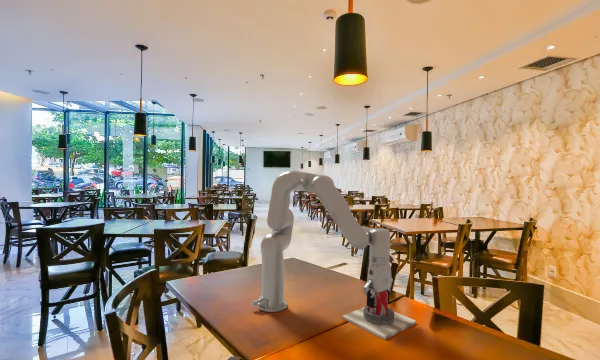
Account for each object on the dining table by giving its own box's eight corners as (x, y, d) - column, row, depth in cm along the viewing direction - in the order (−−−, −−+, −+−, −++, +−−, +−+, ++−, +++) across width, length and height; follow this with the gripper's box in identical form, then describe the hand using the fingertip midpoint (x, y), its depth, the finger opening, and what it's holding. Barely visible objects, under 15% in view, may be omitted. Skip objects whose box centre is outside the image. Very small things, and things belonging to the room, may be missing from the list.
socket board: (384, 339, 103) (385, 328, 103) (342, 318, 118) (342, 308, 118) (415, 323, 115) (416, 312, 115) (373, 305, 131) (373, 296, 131)
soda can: (388, 323, 113) (388, 291, 113) (369, 321, 114) (369, 289, 114) (386, 315, 120) (387, 285, 120) (368, 313, 121) (369, 283, 121)
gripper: (373, 266, 109) (372, 313, 109) (400, 259, 119) (399, 301, 119) (357, 261, 114) (356, 305, 114) (384, 255, 125) (383, 295, 125)
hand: (378, 303), depth 117 cm, fingers open, 9 cm apart
